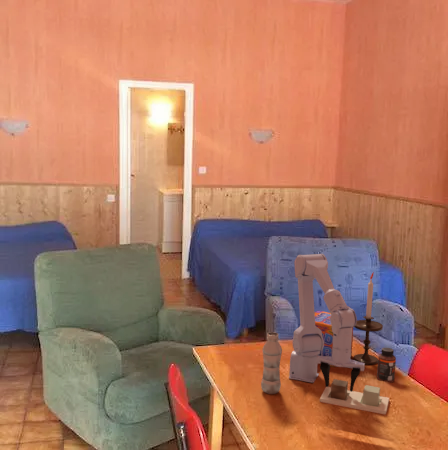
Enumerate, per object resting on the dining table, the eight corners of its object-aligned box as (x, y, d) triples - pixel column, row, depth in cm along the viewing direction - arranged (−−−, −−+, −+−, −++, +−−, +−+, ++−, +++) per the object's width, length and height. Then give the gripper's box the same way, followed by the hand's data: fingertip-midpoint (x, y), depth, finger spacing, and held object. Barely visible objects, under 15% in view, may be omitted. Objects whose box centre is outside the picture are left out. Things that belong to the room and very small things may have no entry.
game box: (315, 346, 227) (317, 310, 225) (352, 355, 218) (354, 317, 216) (298, 358, 214) (300, 319, 212) (336, 367, 206) (338, 327, 204)
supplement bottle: (395, 384, 192) (397, 353, 191) (377, 382, 193) (379, 351, 192) (393, 377, 198) (395, 347, 196) (376, 375, 199) (378, 345, 198)
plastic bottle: (283, 390, 185) (285, 332, 182) (276, 398, 179) (278, 338, 176) (265, 386, 188) (267, 329, 185) (257, 394, 182) (260, 335, 179)
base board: (319, 406, 174) (320, 398, 174) (326, 393, 183) (326, 386, 183) (385, 419, 167) (385, 411, 167) (388, 405, 176) (389, 397, 176)
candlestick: (379, 356, 218) (385, 269, 213) (381, 367, 207) (387, 275, 203) (351, 354, 220) (356, 267, 215) (351, 364, 209) (357, 273, 205)
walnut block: (330, 399, 176) (331, 384, 175) (333, 393, 180) (333, 378, 179) (344, 402, 174) (345, 386, 173) (347, 396, 178) (347, 381, 178)
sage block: (362, 405, 172) (363, 390, 171) (364, 399, 176) (365, 384, 175) (377, 408, 170) (378, 393, 170) (379, 402, 174) (380, 387, 174)
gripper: (316, 347, 173) (314, 388, 175) (363, 354, 168) (360, 397, 170) (321, 340, 180) (318, 380, 182) (366, 347, 175) (363, 388, 176)
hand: (339, 388), depth 176 cm, fingers open, 7 cm apart
